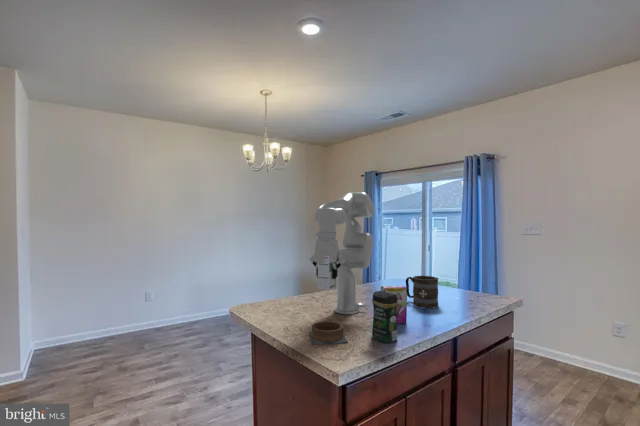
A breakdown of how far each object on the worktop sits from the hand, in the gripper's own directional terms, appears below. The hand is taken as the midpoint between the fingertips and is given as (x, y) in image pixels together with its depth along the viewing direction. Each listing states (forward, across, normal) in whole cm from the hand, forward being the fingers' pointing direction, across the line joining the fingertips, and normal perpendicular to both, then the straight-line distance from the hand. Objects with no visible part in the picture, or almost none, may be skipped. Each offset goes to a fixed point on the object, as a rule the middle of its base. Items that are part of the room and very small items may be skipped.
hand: (326, 277), depth 144 cm
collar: (+22, +4, -10) cm, 24 cm away
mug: (+21, +34, +58) cm, 70 cm away
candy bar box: (+22, +25, +19) cm, 39 cm away
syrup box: (+5, 0, 0) cm, 5 cm away
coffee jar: (+22, +26, -3) cm, 34 cm away
